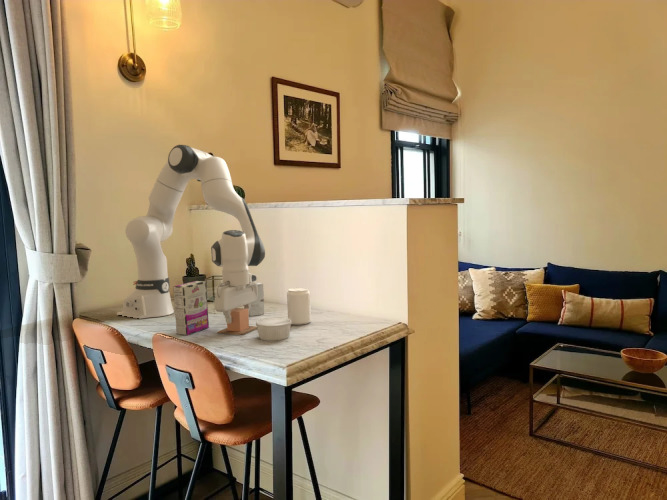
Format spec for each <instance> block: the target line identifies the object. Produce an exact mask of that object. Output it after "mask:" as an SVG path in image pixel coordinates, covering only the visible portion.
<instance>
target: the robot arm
mask: <svg viewBox="0 0 667 500" xmlns="http://www.w3.org/2000/svg"><path fill="white" fill-rule="evenodd" d="M169 151H170V152H169V153H168V157H167V161H166V163H165V164H164V165H163V167H162V168H161V171H159V174H158V176H157V178H156V179H155V183H154V185H153V187H152V189H151V191H150V194H149V196H148V202H149V203H148V204H149V205H148V208H147V209H148V210H147V214H146V215H142V216H138V217H137V216H136V217H135V218H133V219H132V220H130V221H129V222H127V224H126V226H125V230H124V231H125V235H126V238H127V240H128V241H129V242H130V243H131V245H132V248H133V251H134V254H135V258H136V265H137V278H138V279H137V280H135V281H134V282H133V286H135V289H134V290H133V291H132V292H131V293H130V294H128V295H127V296H126V297H125V298H124V299H123V302H122V310H120V311H117V312H116V316H118V315H122V316H121V317H124V316H127V317H126V318H130V317H133V318H132V319H137V318H139V319H141V320H142V319H146V318H147V319H149V318H158V317H165V316H168V315H172V314H175V309H174V307H173V306H174V305H173V304H172V303H173V302H172V299H171V294H170V278H169V275H168V272H169V271H168V259H167V256H166V255H165V254H164V252H163V249H162V244H161V243H162V242H165V241H166V240H168V238H170V237H171V236H172V235H173V231H174V226H173V223H174V219H175V214H176V211H177V209H178V206H179V204H180V201H182V200H181V199H182V197H183V195H184V192H185V190H186V188H187V187H188V183H189V182H190V181H191V180H196V181H197V182H200V187H201V192H202V197H203V200H204V202H205V203H206V205H208V206H209V207H210V208H212V209H214V210H216V211H218V212H222V213H225V214H228V215H231V216H233V217H234V218H236V219H237V221H238V222H239V225H240V227H241V230H237V229H231V230H225V231H224V232H222V233H221V238H220V239H219V240H216V241H215V242H214V243H213V244H212V245H211V246H210V247H211V248H210V251H211V262H212V263H213V264H215V265H216V266H217V267H219V268H222V269H221V274H222V275H221V276H222V282H219V284H218V285H217V287H216V291H215V294H214V309H215V310H216V312H219V313H223V315H224V318H225V322H226V323H225V324H227V323H229V324H230V323H232V322H233V317H231V315H230V313H231V310H232V309H235V308H242V307H243V308H244V309H248V315H249V310H250V307H251V303H252V302H255V301H256V300H257V297H258V289H257V283H258V275H257V274H254V273H251V272H250V267H257V266H259V265H260V264H261V263H262V262H263V261H264V260H265V258H266V257H265V256H266V249H265V246H264V243H263V241H262V240H261V237H260V235H259V233H258V230H257V227H256V225H255V222H254V220H253V216H252V214H251V212H250V210H249V209H250V208H249V207H248V204H247V202H246V200H245V199H244V198H243V197H241V195H239V194H238V193H237V191H235V188H234V185H233V180H232V176H231V173H230V169H229V167H228V165H227V163H226V162H227V161H225V159H224V158H221V157H220V156H215V155H211V154H210V153H208V152H207V151H204V150H202V149H198V148H195V147H191V146H189V145H186V144H177V145H175V146H173V148H171V150H169Z"/></svg>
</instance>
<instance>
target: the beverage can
mask: <svg viewBox="0 0 667 500" xmlns="http://www.w3.org/2000/svg"><path fill="white" fill-rule="evenodd" d="M287 290H288V291H287V292H286V293H287V294H286V298H287V299H286V300H287V301H286V303H287V318H288V319H290V320H291V325H294V326H296V325H297V326H300V325H302V326H303V325H307V324H309V323H310V322H312V313H311V311H312V310H311V292H310V290H309V288H307V287H291V288H288V289H287Z"/></svg>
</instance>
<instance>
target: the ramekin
mask: <svg viewBox="0 0 667 500" xmlns="http://www.w3.org/2000/svg"><path fill="white" fill-rule="evenodd" d="M291 325H292V324H291V320H290V319H288V317H281V316H280V317H279V316H278V317H277V316H276V317H267V318H266V317H264V318H262V319H258V320H256V322H255V326H256V327H257V329H256V330H257V333H258V337H259V338H260V340H262V341H267V342H269V341H270V342H277V341H283V340H285V339H287V338H288V337H289V336H290V333H291Z"/></svg>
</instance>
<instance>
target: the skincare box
mask: <svg viewBox="0 0 667 500" xmlns="http://www.w3.org/2000/svg"><path fill="white" fill-rule="evenodd" d="M256 283H257V289H258V297H257V300H256V301H255V302H252V303H251V307H250V310H249V317H253V316H261V315H265V299H264V296H265V295H264V283H263V282H258V281H257V282H256Z"/></svg>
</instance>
